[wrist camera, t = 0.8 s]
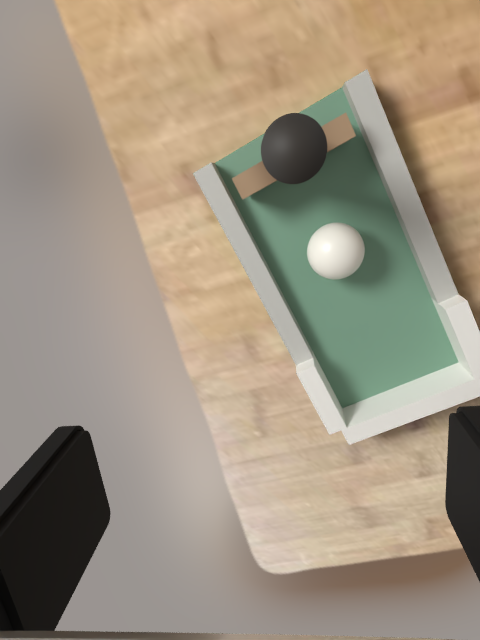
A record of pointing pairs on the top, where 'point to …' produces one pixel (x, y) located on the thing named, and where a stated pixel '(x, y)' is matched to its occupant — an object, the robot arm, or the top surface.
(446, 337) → the pitch
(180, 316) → the top surface
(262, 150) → the striker
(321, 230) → the ball
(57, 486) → the robot arm
